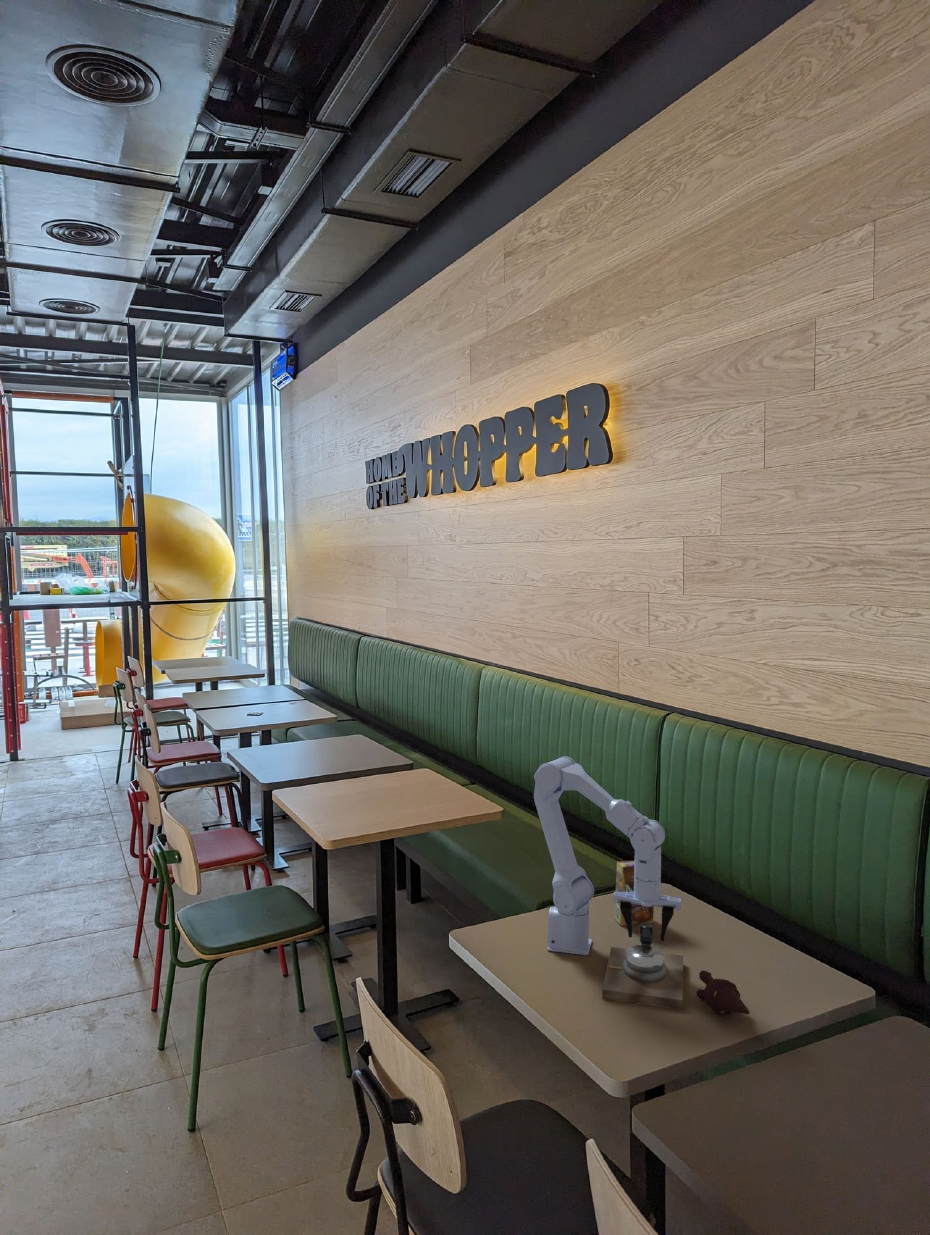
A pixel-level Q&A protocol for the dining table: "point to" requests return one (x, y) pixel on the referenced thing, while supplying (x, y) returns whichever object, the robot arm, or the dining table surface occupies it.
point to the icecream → (721, 995)
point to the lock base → (644, 982)
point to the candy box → (627, 885)
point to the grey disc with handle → (645, 953)
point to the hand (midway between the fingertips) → (646, 937)
